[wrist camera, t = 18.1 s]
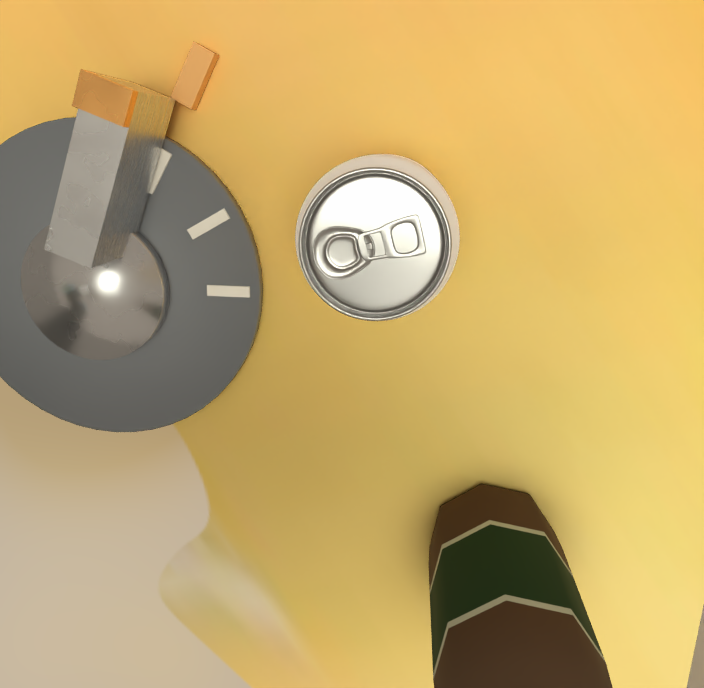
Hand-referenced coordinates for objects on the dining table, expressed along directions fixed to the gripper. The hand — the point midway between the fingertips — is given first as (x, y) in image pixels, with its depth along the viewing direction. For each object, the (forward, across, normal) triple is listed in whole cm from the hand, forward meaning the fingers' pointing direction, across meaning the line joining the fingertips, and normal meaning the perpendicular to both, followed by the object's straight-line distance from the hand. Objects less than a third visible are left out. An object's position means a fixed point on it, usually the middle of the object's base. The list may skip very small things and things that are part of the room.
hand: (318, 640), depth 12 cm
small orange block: (+26, -10, +12) cm, 30 cm away
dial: (+25, -14, +4) cm, 29 cm away
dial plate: (+26, -16, +1) cm, 31 cm away
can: (+26, 0, +5) cm, 27 cm away
